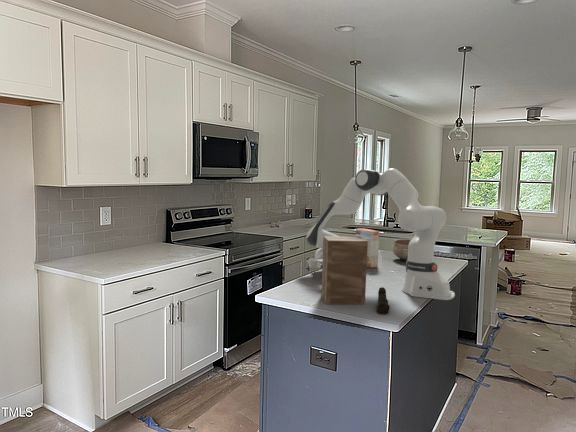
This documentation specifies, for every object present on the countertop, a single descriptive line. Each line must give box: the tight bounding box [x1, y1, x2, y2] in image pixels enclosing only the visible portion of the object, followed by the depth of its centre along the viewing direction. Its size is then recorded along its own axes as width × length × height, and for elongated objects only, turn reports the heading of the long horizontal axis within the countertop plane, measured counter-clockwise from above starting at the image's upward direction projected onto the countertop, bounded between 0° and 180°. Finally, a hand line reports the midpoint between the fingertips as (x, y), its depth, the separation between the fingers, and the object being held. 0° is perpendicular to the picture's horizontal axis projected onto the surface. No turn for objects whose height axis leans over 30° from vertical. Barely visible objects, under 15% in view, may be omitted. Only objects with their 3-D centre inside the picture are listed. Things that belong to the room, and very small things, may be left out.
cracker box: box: [355, 227, 380, 269], centre depth 255 cm, size 14×6×21 cm, turn 32°
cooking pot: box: [392, 238, 413, 262], centre depth 273 cm, size 25×19×12 cm
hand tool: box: [376, 286, 391, 315], centre depth 179 cm, size 23×5×6 cm, turn 167°
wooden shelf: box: [321, 235, 368, 305], centre depth 185 cm, size 12×16×26 cm
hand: (331, 266), depth 213 cm, fingers open, 8 cm apart
